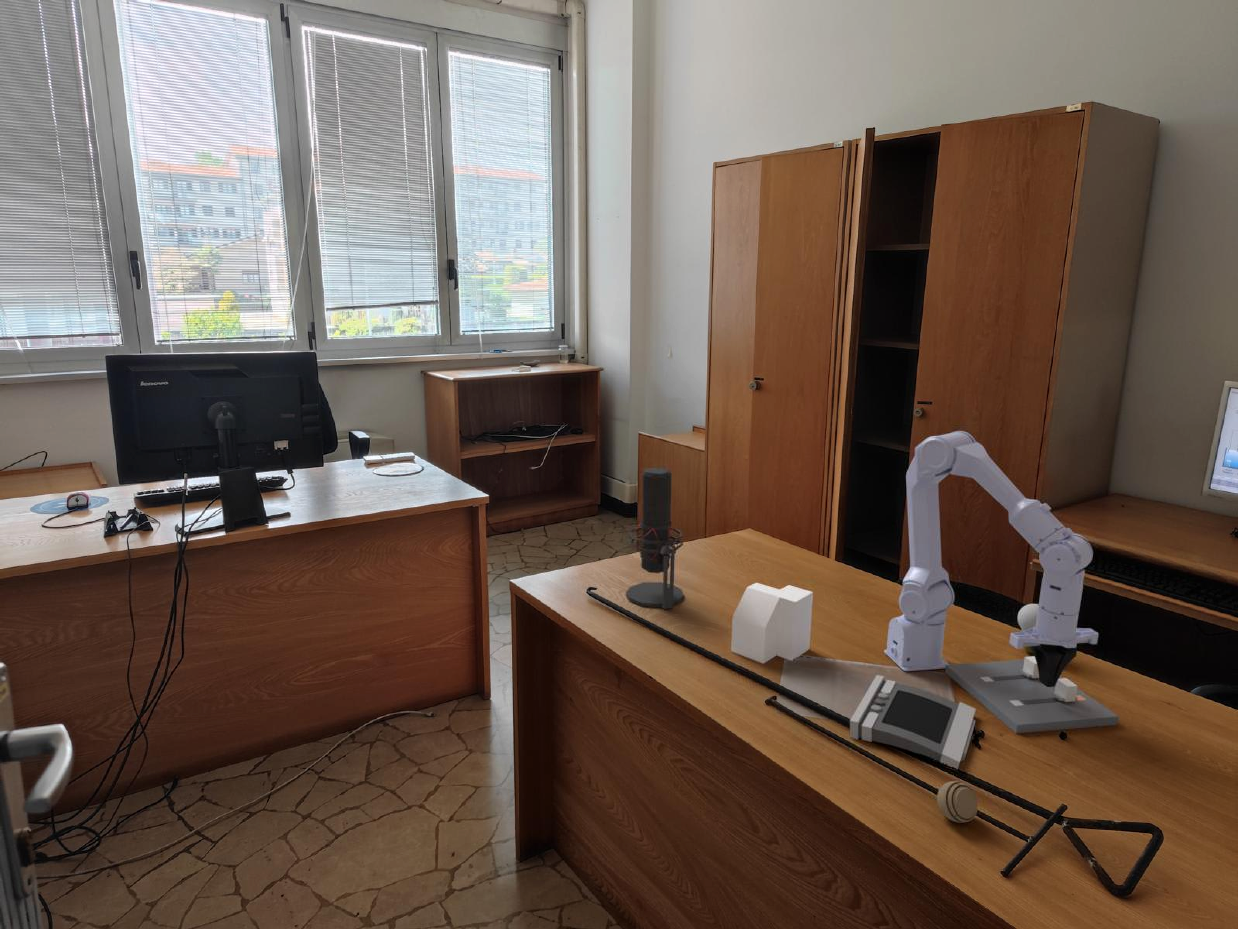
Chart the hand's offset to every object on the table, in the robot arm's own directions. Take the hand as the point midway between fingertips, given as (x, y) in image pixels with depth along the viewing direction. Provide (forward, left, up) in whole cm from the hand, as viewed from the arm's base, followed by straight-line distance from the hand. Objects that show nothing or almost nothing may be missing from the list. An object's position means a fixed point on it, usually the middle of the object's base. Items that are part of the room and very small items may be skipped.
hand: (1047, 684), depth 125 cm
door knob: (-30, -23, -5) cm, 38 cm away
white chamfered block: (-38, +27, -5) cm, 47 cm away
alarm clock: (-24, -2, -5) cm, 25 cm away
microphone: (-55, +56, -5) cm, 79 cm away
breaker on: (+4, +8, -3) cm, 9 cm away
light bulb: (+12, +19, -5) cm, 23 cm away
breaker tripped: (+4, 0, -3) cm, 5 cm away
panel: (0, +4, -5) cm, 6 cm away
